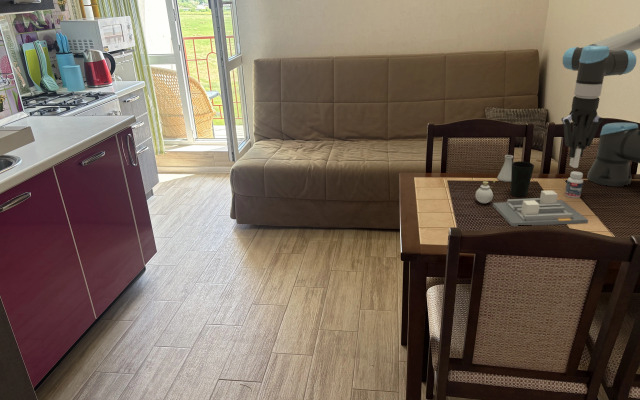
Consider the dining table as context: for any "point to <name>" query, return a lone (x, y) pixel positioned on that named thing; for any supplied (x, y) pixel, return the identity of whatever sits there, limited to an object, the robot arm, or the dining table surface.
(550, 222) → the switch board
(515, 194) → the cup
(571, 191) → the pill bottle
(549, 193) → the tab
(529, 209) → the tab
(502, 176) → the flask
